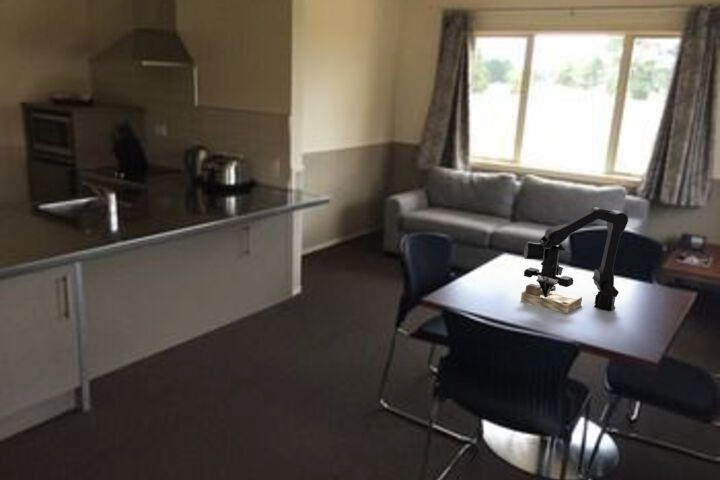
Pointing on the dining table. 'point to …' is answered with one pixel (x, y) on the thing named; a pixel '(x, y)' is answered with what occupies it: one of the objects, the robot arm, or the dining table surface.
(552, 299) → the trap box
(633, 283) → the dining table surface
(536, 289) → the block
